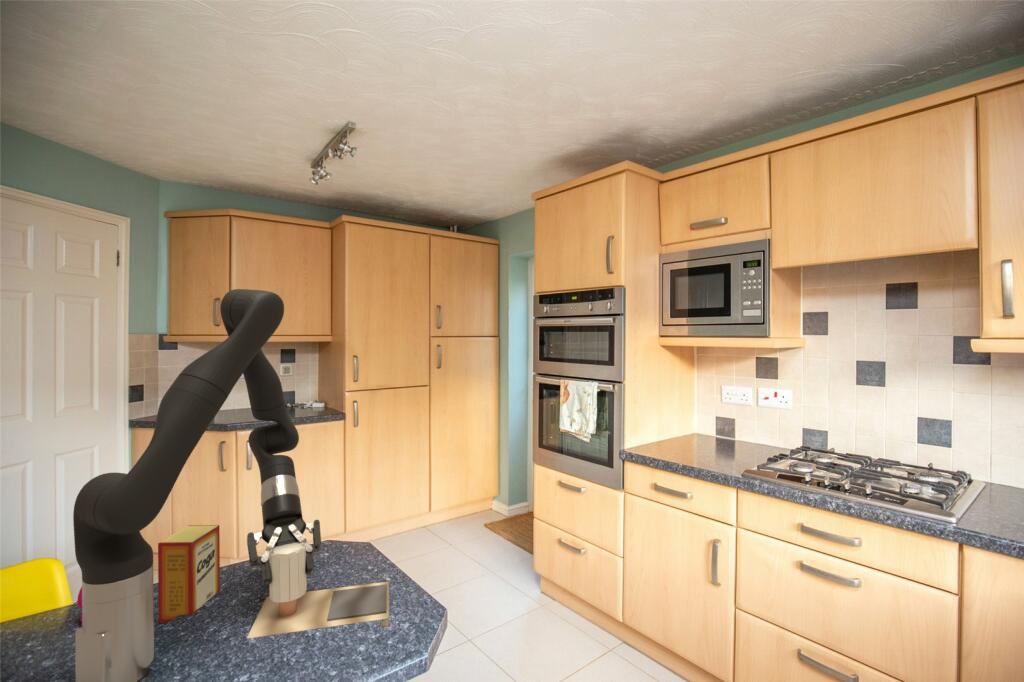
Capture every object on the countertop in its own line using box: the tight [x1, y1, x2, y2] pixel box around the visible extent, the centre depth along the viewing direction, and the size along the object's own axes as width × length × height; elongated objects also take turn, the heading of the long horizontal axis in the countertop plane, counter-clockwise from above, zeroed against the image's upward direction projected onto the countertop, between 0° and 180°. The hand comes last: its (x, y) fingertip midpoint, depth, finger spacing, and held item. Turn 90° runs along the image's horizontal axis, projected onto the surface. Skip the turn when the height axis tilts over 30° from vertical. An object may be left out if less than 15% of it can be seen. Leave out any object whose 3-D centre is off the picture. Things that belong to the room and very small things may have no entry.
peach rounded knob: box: [279, 599, 297, 616], centre depth 97 cm, size 3×3×4 cm
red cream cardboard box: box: [157, 524, 221, 623], centre depth 101 cm, size 10×6×16 cm
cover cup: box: [268, 542, 308, 603], centre depth 97 cm, size 6×6×9 cm
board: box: [246, 581, 390, 640], centre depth 98 cm, size 25×15×2 cm, turn 104°
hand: (289, 577), depth 96 cm, fingers closed on cover cup, 6 cm apart
